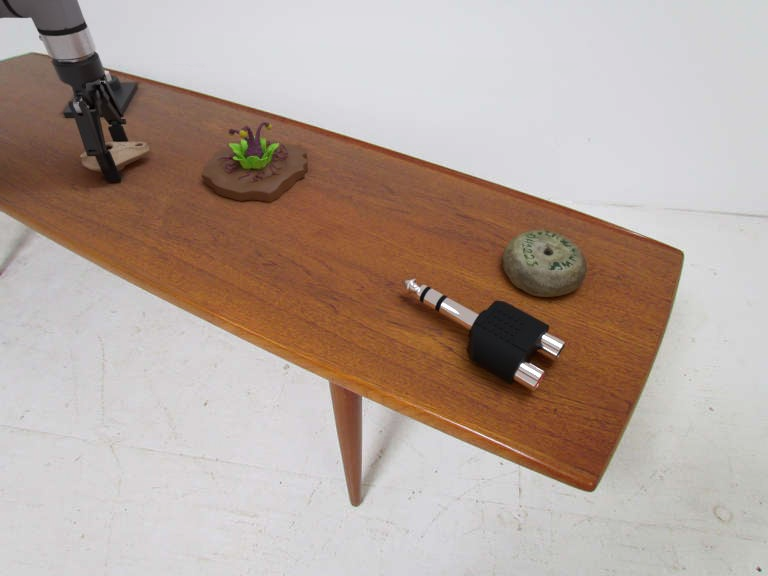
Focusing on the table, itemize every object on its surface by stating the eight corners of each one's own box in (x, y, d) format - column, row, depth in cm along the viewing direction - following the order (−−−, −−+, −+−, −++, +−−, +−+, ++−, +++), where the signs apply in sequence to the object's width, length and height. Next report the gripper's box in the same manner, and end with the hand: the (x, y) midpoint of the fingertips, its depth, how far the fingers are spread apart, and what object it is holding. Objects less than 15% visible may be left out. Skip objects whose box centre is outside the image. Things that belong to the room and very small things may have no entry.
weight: (570, 312, 77) (580, 290, 73) (488, 282, 81) (493, 259, 78) (590, 261, 85) (600, 239, 82) (515, 236, 90) (521, 213, 86)
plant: (187, 190, 98) (171, 138, 90) (236, 143, 111) (226, 94, 103) (280, 210, 94) (271, 157, 86) (320, 158, 107) (315, 108, 99)
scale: (65, 118, 118) (58, 104, 115) (87, 88, 129) (81, 75, 127) (122, 116, 119) (117, 102, 117) (138, 87, 131) (134, 73, 128)
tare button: (96, 83, 124) (93, 75, 123) (100, 78, 127) (97, 70, 125) (110, 83, 125) (106, 75, 123) (113, 78, 127) (110, 70, 126)
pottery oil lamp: (157, 166, 103) (136, 147, 96) (105, 192, 103) (80, 174, 96) (147, 135, 106) (125, 114, 99) (96, 160, 106) (71, 141, 99)
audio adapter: (536, 380, 61) (379, 287, 72) (526, 403, 65) (379, 312, 76) (573, 328, 67) (424, 250, 78) (562, 352, 71) (421, 274, 82)
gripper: (71, 33, 94) (115, 142, 110) (26, 81, 79) (85, 199, 95) (113, 32, 95) (150, 140, 111) (76, 80, 79) (126, 197, 95)
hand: (120, 167), depth 103 cm, fingers closed on pottery oil lamp, 9 cm apart
